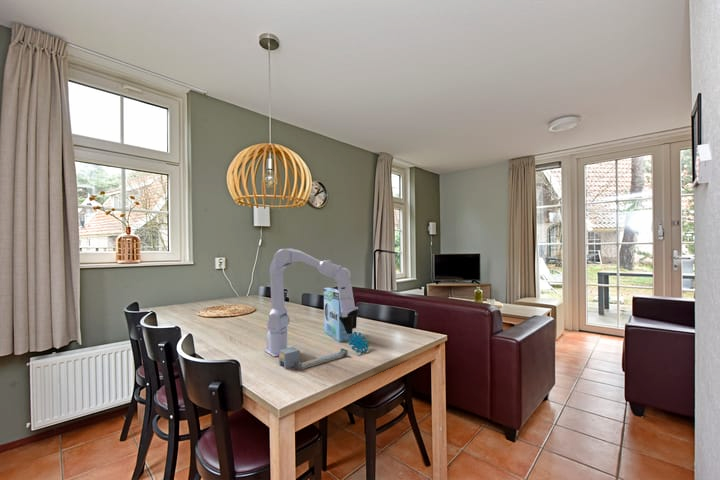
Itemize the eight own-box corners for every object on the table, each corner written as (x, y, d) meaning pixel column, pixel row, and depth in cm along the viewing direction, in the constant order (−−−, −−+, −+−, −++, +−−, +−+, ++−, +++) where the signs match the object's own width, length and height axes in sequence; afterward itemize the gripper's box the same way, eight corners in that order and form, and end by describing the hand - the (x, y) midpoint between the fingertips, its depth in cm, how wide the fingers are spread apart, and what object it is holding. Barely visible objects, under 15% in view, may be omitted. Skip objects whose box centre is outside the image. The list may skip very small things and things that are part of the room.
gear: (354, 352, 128) (346, 331, 135) (347, 360, 131) (339, 338, 138) (375, 351, 135) (366, 330, 141) (367, 358, 138) (359, 337, 144)
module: (278, 364, 120) (278, 350, 120) (293, 360, 124) (293, 346, 124) (284, 368, 116) (284, 353, 116) (299, 364, 120) (299, 350, 120)
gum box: (348, 340, 149) (348, 292, 149) (338, 342, 147) (338, 293, 147) (332, 330, 166) (332, 287, 167) (323, 332, 164) (323, 287, 164)
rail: (294, 368, 117) (294, 361, 117) (342, 354, 131) (342, 348, 131) (299, 370, 114) (299, 364, 114) (347, 356, 129) (347, 350, 129)
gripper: (352, 299, 121) (357, 334, 120) (359, 293, 135) (364, 325, 135) (334, 301, 122) (340, 336, 122) (343, 295, 136) (348, 326, 136)
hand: (351, 330), depth 128 cm, fingers open, 7 cm apart
